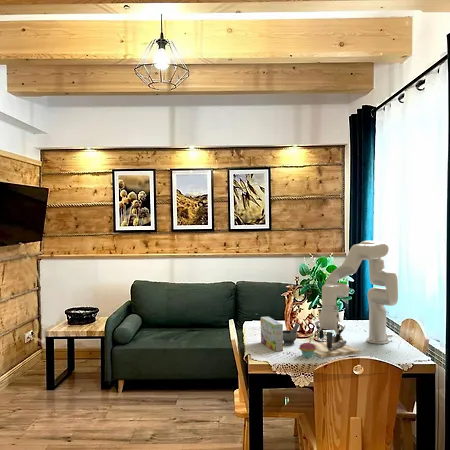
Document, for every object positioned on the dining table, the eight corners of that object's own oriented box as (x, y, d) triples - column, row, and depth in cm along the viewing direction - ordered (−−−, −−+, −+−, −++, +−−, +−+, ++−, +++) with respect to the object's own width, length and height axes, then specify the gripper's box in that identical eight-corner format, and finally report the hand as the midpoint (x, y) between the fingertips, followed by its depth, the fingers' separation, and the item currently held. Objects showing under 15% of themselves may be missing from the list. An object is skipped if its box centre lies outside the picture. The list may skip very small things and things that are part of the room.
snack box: (259, 342, 308) (259, 316, 307) (268, 341, 310) (268, 316, 309) (274, 351, 288) (274, 324, 287) (283, 351, 289) (283, 323, 289)
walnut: (340, 341, 303) (340, 335, 302) (344, 343, 299) (344, 337, 299) (335, 342, 301) (335, 336, 301) (338, 343, 298) (338, 337, 298)
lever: (342, 342, 298) (342, 325, 298) (347, 343, 296) (347, 326, 296) (325, 350, 282) (325, 332, 281) (330, 351, 280) (330, 333, 280)
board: (336, 343, 305) (336, 340, 305) (359, 353, 285) (359, 349, 284) (300, 347, 296) (300, 344, 296) (320, 357, 276) (320, 354, 276)
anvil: (339, 340, 305) (339, 335, 305) (341, 341, 303) (341, 336, 303) (332, 341, 303) (332, 336, 303) (334, 342, 301) (334, 336, 301)
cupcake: (313, 354, 283) (314, 331, 283) (317, 358, 274) (317, 335, 274) (297, 354, 283) (298, 331, 282) (300, 358, 274) (300, 335, 274)
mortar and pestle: (280, 346, 300) (280, 325, 299) (279, 341, 309) (279, 321, 309) (300, 346, 299) (300, 325, 299) (298, 342, 309) (299, 321, 308)
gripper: (347, 308, 279) (347, 340, 280) (318, 305, 290) (318, 336, 291) (340, 311, 273) (341, 343, 274) (311, 307, 284) (311, 338, 285)
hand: (329, 339), depth 282 cm, fingers open, 9 cm apart
